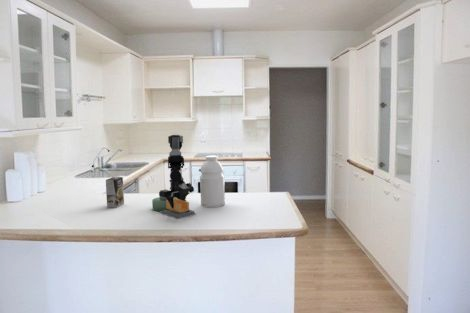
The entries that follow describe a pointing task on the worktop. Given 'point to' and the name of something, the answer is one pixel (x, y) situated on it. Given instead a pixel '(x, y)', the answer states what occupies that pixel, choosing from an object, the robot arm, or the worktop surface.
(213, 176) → the bottle
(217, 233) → the worktop surface
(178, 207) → the chute
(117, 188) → the coffee box
